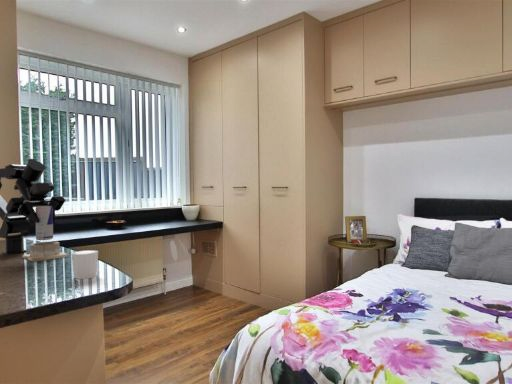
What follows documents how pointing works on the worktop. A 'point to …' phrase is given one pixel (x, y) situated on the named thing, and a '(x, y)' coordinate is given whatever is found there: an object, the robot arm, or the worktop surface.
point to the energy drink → (44, 223)
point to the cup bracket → (44, 251)
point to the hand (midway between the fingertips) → (46, 221)
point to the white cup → (85, 264)
